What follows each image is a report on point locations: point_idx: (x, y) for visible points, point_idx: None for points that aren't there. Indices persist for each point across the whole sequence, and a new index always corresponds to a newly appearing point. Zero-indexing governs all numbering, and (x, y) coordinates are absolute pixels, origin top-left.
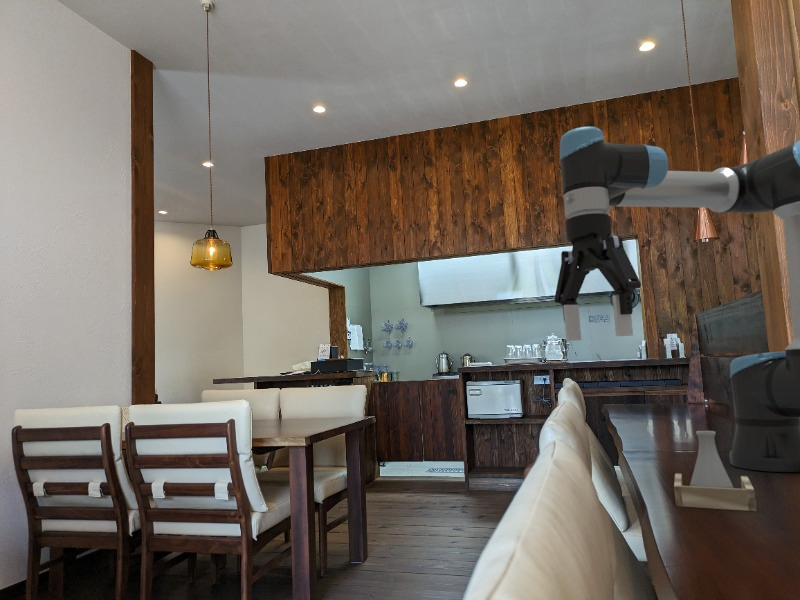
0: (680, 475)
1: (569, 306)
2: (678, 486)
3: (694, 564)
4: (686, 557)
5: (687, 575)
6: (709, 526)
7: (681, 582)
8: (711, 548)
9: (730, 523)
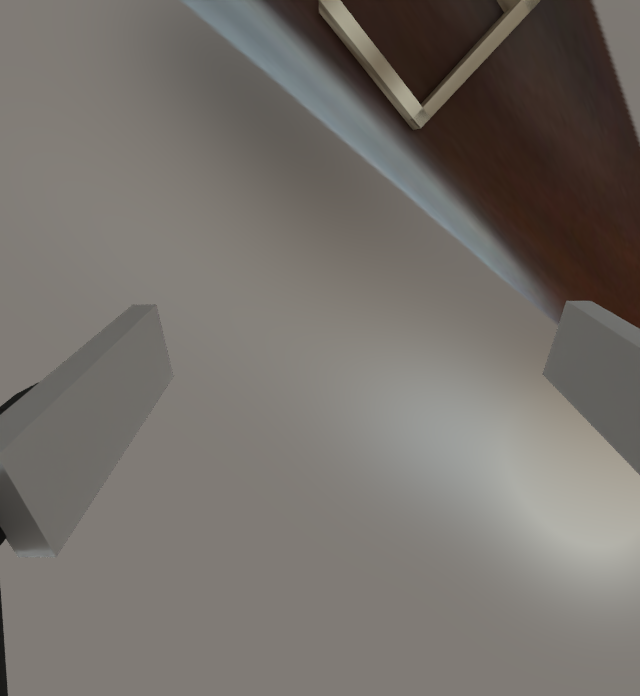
0: (344, 9)
1: (49, 517)
2: (425, 119)
3: None
4: None
5: None
6: (521, 181)
7: None
8: (574, 257)
9: (532, 136)
